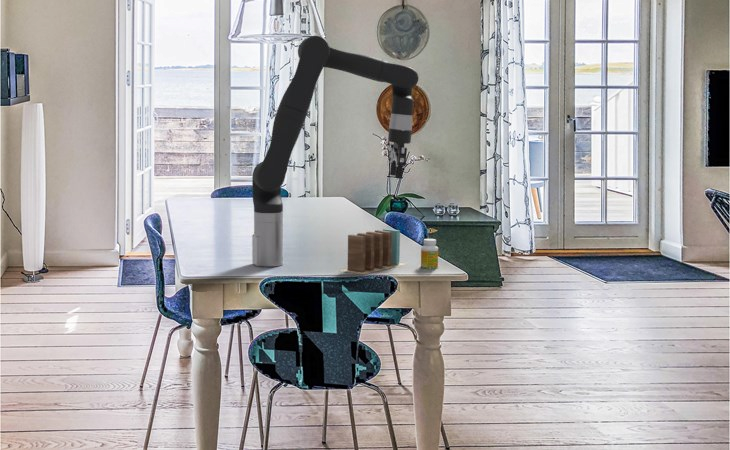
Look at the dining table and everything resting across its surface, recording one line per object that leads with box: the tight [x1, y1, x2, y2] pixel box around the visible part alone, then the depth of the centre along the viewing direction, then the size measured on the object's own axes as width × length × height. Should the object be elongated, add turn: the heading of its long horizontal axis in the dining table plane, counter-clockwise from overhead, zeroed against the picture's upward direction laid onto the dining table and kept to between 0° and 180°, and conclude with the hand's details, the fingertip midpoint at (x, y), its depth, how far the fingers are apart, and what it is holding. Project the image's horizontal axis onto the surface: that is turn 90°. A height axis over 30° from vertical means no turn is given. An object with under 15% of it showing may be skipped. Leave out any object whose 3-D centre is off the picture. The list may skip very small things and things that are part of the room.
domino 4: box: [374, 229, 392, 267], centre depth 271 cm, size 2×6×11 cm, turn 52°
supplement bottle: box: [420, 238, 439, 270], centre depth 269 cm, size 5×5×10 cm
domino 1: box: [347, 234, 366, 273], centre depth 260 cm, size 2×6×11 cm, turn 52°
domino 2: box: [356, 232, 375, 271], centre depth 264 cm, size 2×6×11 cm, turn 52°
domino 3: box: [365, 231, 383, 269], centre depth 267 cm, size 2×6×11 cm, turn 52°
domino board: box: [338, 262, 406, 275], centre depth 268 cm, size 24×9×1 cm, turn 142°
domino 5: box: [382, 228, 401, 265], centre depth 275 cm, size 2×6×11 cm, turn 52°
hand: (395, 176), depth 283 cm, fingers open, 8 cm apart
